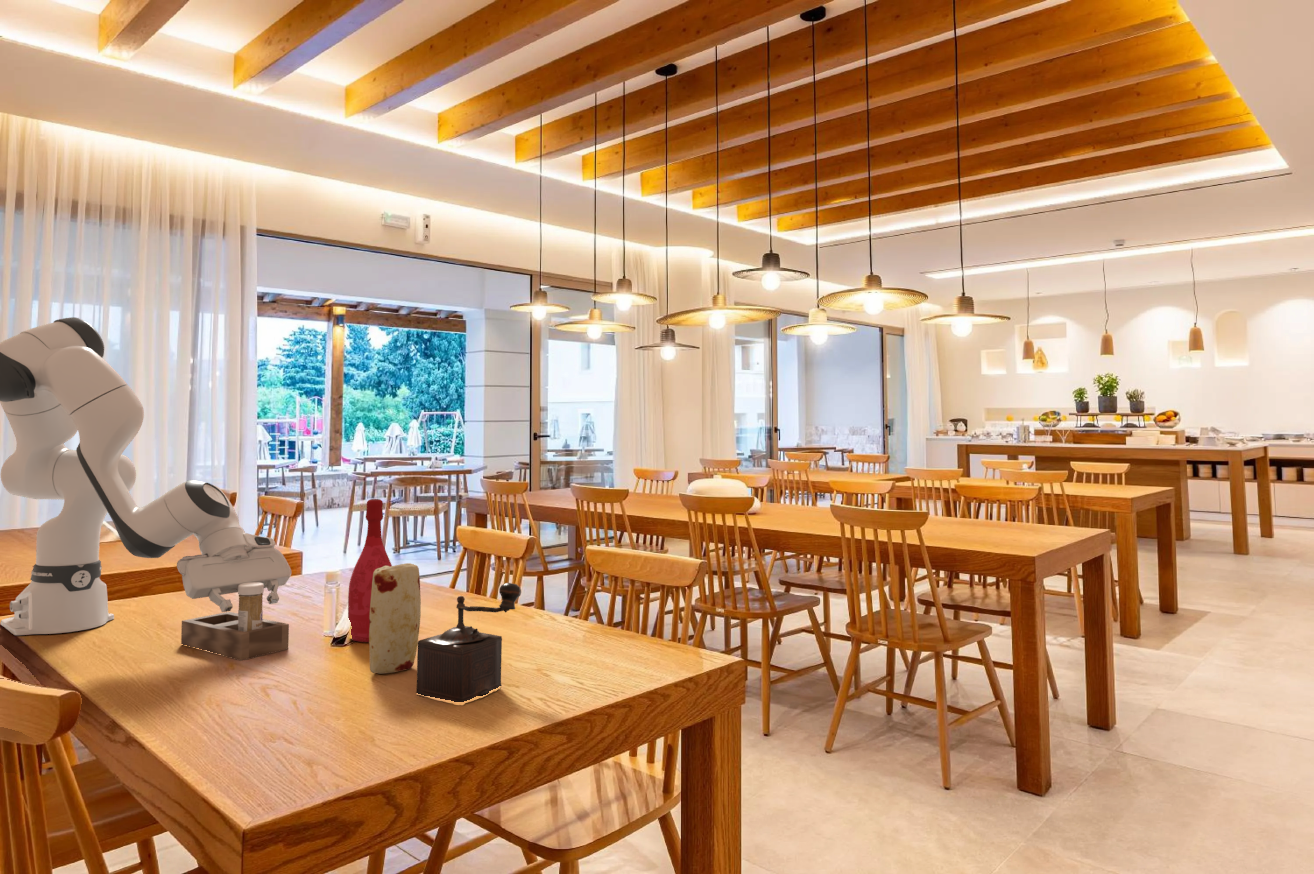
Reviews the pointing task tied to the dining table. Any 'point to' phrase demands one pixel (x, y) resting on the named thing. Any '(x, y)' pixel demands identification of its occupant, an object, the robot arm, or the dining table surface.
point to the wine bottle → (366, 573)
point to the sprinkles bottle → (250, 606)
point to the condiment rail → (234, 636)
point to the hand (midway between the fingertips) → (251, 605)
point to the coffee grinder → (463, 656)
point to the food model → (394, 618)
